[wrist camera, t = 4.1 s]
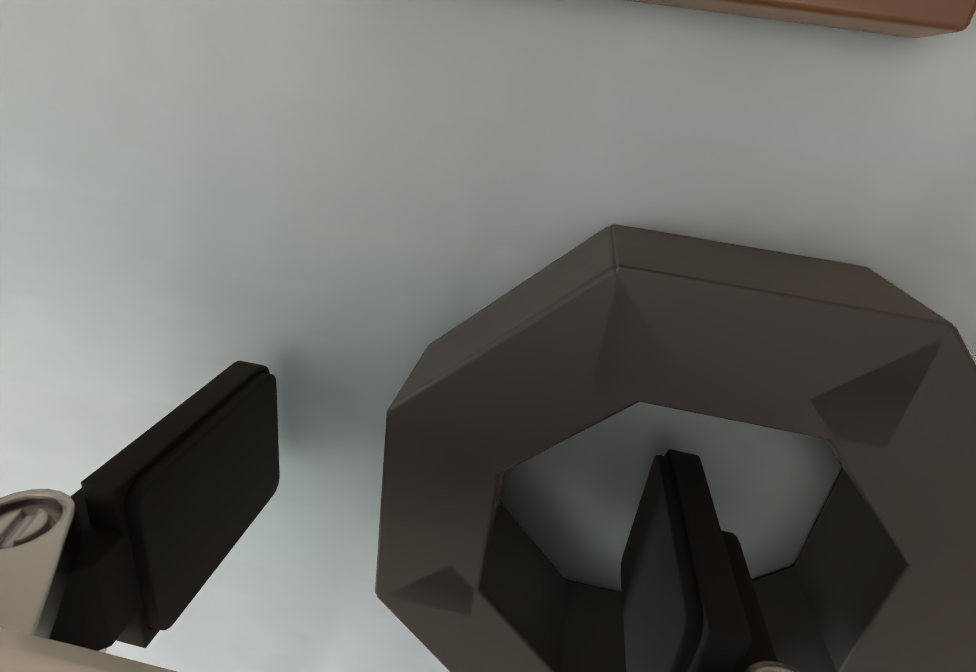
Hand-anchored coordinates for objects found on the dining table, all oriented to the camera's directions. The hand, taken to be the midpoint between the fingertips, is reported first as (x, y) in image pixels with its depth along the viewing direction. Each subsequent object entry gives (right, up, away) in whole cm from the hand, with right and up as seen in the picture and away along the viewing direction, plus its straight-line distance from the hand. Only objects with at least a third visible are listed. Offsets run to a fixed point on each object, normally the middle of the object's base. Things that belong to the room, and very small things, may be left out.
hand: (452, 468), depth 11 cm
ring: (+4, 0, 0) cm, 4 cm away
